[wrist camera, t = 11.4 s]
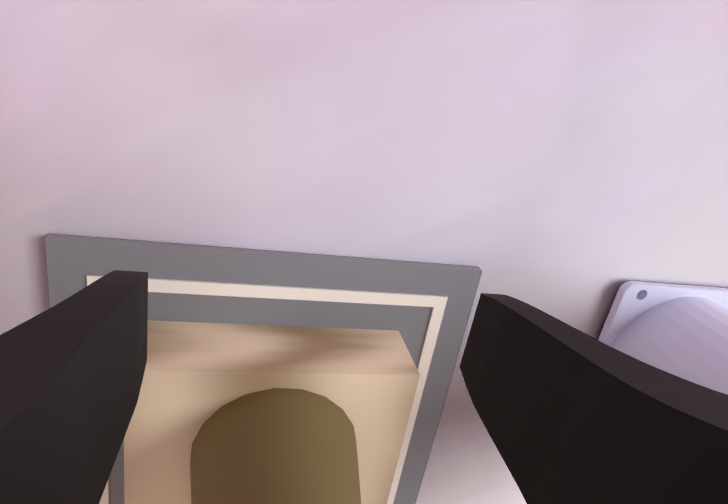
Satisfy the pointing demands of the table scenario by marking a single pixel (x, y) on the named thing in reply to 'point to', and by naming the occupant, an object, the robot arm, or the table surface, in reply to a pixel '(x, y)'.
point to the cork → (276, 452)
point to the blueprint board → (293, 310)
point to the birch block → (257, 373)
